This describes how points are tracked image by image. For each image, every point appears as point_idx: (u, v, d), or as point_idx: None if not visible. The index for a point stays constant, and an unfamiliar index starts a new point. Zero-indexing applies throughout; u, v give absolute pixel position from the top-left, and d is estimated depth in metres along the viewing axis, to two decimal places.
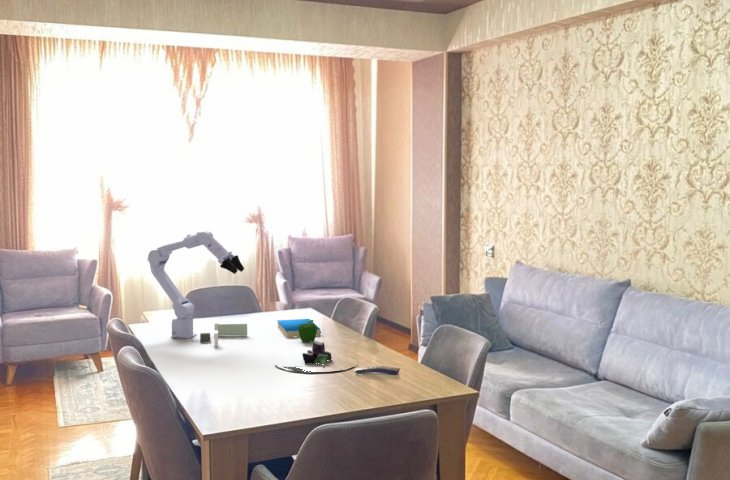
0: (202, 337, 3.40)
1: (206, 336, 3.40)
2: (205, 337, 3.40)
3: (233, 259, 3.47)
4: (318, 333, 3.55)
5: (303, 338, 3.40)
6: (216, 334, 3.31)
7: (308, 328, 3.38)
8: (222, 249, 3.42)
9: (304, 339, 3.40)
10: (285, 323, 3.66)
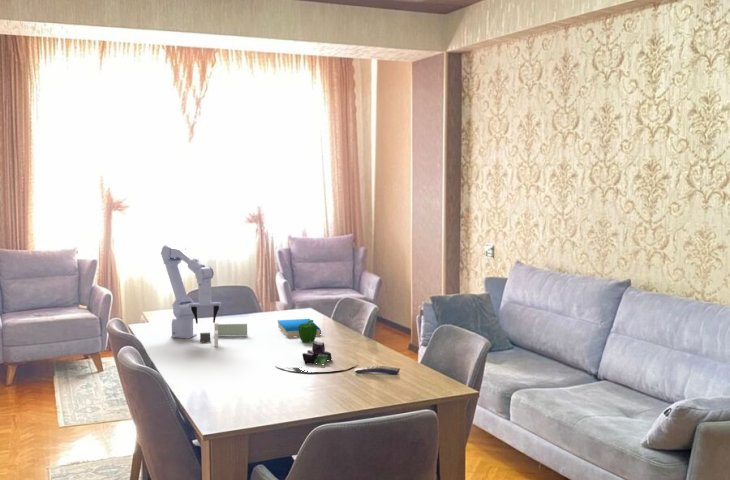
0: (202, 337, 3.40)
1: (206, 336, 3.41)
2: (205, 337, 3.41)
3: None
4: (318, 333, 3.55)
5: (303, 338, 3.40)
6: (216, 334, 3.31)
7: (308, 328, 3.38)
8: (201, 296, 3.37)
9: (304, 339, 3.40)
10: (285, 323, 3.66)
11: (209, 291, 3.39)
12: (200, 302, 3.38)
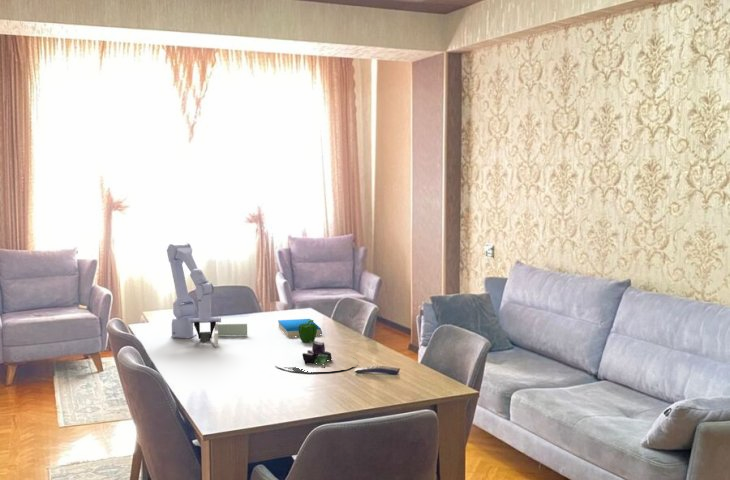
0: (202, 336, 3.41)
1: (205, 335, 3.41)
2: (205, 336, 3.42)
3: (210, 324, 3.41)
4: (319, 333, 3.55)
5: (303, 338, 3.40)
6: (216, 334, 3.31)
7: (308, 328, 3.38)
8: (201, 312, 3.38)
9: (304, 339, 3.40)
10: (286, 323, 3.66)
11: (209, 307, 3.39)
12: (200, 318, 3.39)
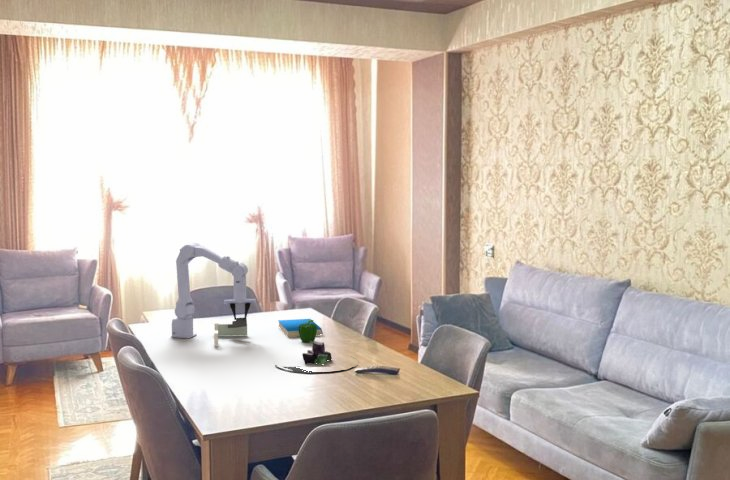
0: (241, 321, 3.45)
1: (243, 319, 3.47)
2: (243, 321, 3.46)
3: (245, 305, 3.45)
4: (320, 333, 3.55)
5: (303, 338, 3.40)
6: (216, 334, 3.31)
7: (308, 328, 3.38)
8: (237, 293, 3.42)
9: (304, 339, 3.40)
10: (286, 323, 3.66)
11: (245, 288, 3.44)
12: (235, 299, 3.42)
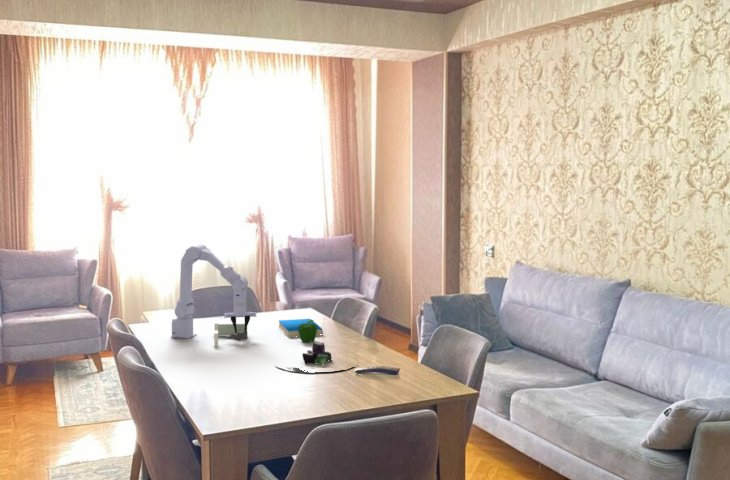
0: (243, 336, 3.45)
1: (245, 334, 3.47)
2: (244, 335, 3.47)
3: None
4: (320, 333, 3.55)
5: (303, 338, 3.40)
6: (216, 334, 3.31)
7: (308, 328, 3.38)
8: (237, 307, 3.42)
9: (304, 339, 3.40)
10: (287, 323, 3.66)
11: None
12: (235, 312, 3.43)
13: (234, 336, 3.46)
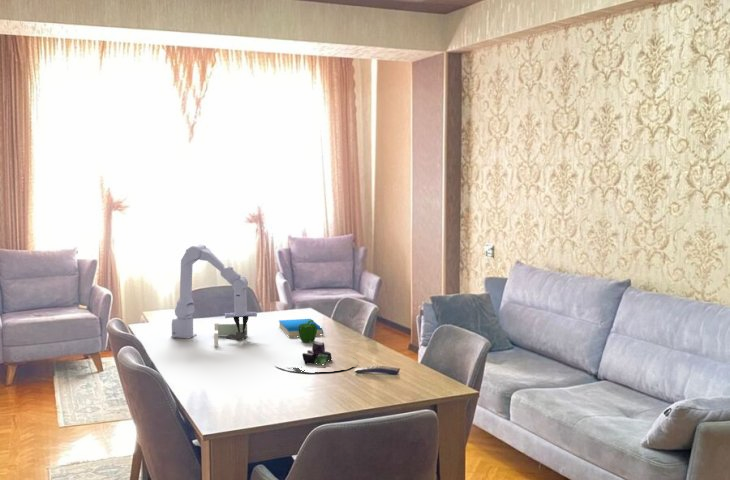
0: (241, 335, 3.46)
1: (243, 333, 3.47)
2: (243, 335, 3.47)
3: None
4: (320, 333, 3.55)
5: (303, 338, 3.40)
6: (216, 334, 3.31)
7: (308, 328, 3.38)
8: (237, 307, 3.43)
9: (304, 339, 3.40)
10: (287, 323, 3.66)
11: (246, 301, 3.45)
12: (236, 312, 3.43)
13: (232, 336, 3.47)
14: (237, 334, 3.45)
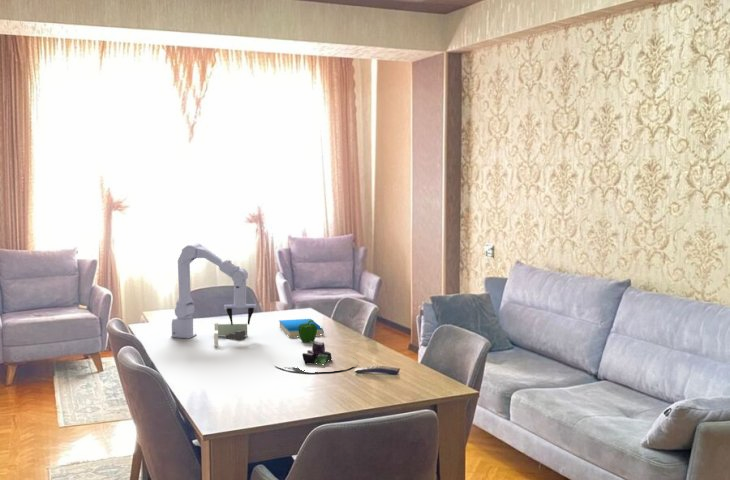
0: (240, 335, 3.46)
1: (242, 333, 3.47)
2: (242, 334, 3.47)
3: (248, 310, 3.45)
4: (321, 333, 3.55)
5: (303, 338, 3.40)
6: (216, 334, 3.31)
7: (308, 328, 3.38)
8: (237, 299, 3.42)
9: (304, 339, 3.40)
10: (287, 323, 3.66)
11: None
12: (235, 304, 3.43)
13: (232, 335, 3.47)
14: (236, 333, 3.46)
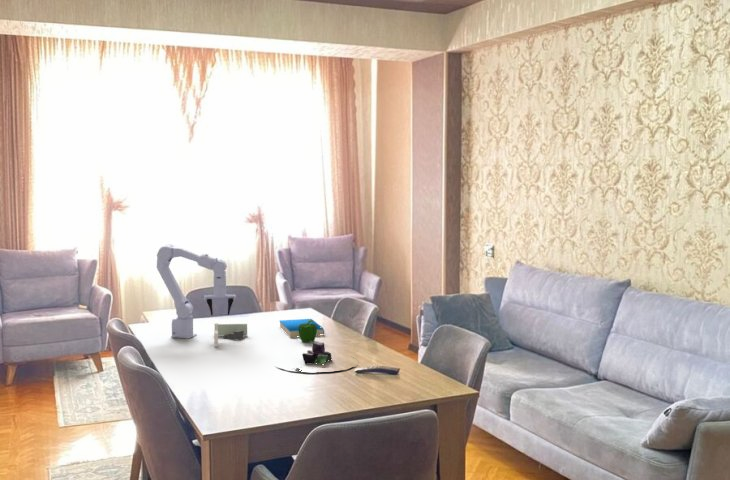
0: (239, 335, 3.46)
1: (241, 333, 3.47)
2: (241, 334, 3.47)
3: (228, 300, 3.51)
4: (321, 333, 3.55)
5: (303, 338, 3.40)
6: (216, 334, 3.31)
7: (308, 328, 3.38)
8: (216, 289, 3.48)
9: (304, 339, 3.40)
10: (288, 323, 3.66)
11: (225, 283, 3.51)
12: (215, 294, 3.48)
13: (230, 335, 3.47)
14: (235, 333, 3.46)
